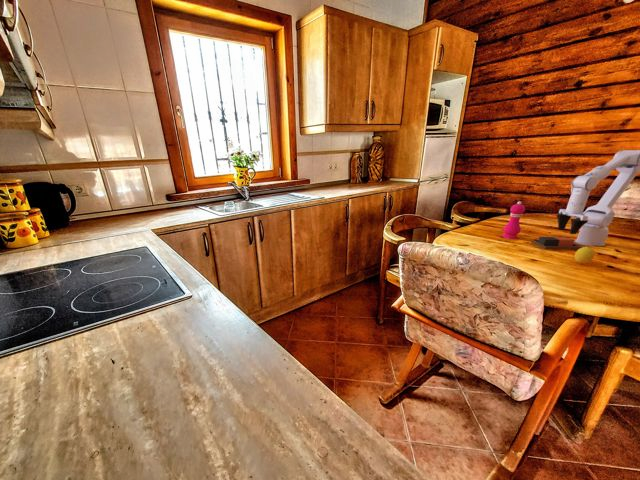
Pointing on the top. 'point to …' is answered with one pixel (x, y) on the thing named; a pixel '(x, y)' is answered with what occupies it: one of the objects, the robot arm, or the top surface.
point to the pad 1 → (548, 241)
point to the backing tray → (574, 247)
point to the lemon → (584, 255)
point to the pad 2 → (565, 241)
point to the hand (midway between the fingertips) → (566, 231)
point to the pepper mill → (514, 221)
